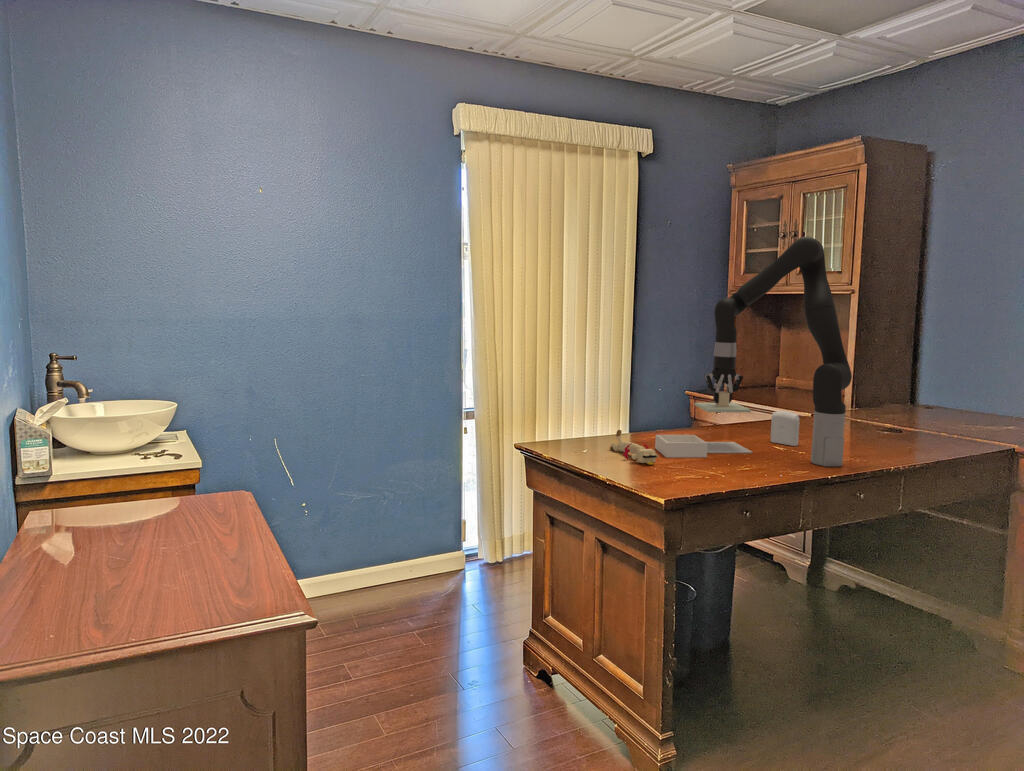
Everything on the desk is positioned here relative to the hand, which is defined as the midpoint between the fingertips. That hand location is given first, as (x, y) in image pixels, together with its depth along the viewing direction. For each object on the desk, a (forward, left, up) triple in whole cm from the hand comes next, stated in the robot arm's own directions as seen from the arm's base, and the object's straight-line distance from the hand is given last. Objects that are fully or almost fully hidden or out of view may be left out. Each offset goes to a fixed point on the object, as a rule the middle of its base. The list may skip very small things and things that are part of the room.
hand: (722, 402), depth 253 cm
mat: (0, 0, -16) cm, 16 cm away
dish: (-8, +17, -16) cm, 25 cm away
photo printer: (+7, -27, -17) cm, 32 cm away
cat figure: (-15, +35, -17) cm, 42 cm away
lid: (0, 0, -2) cm, 2 cm away
